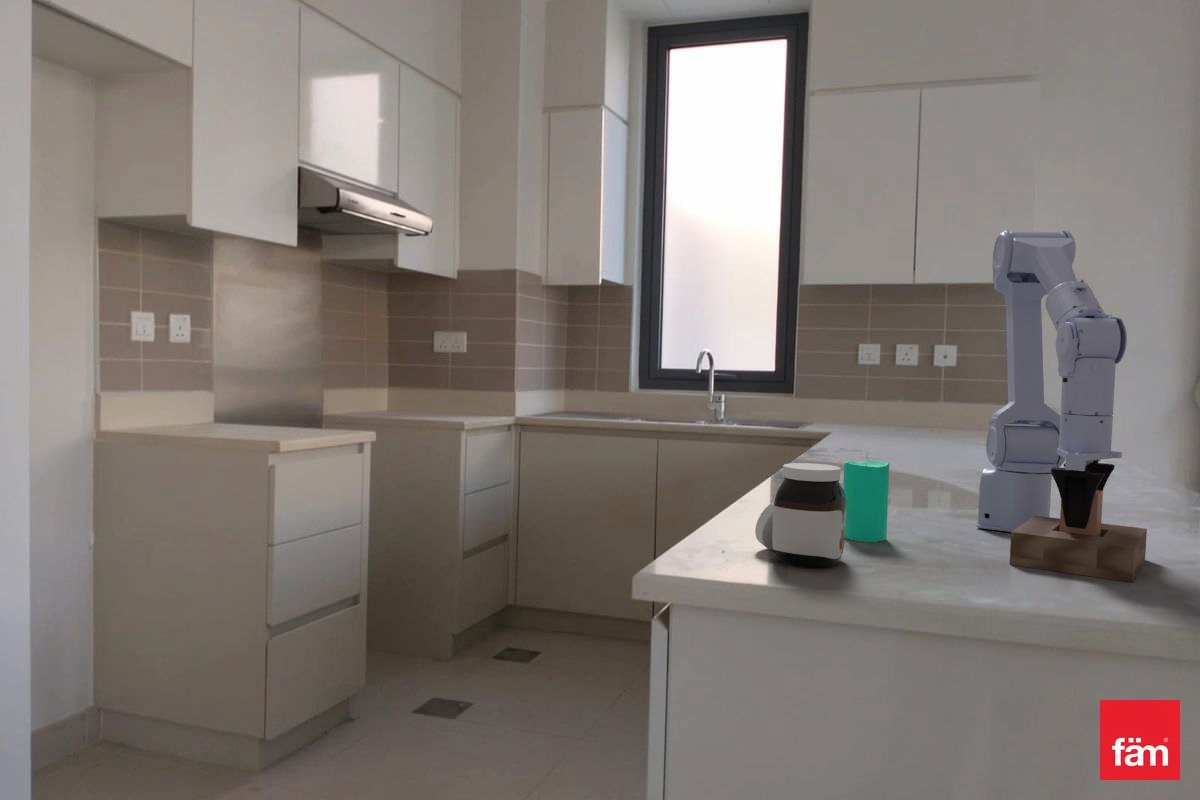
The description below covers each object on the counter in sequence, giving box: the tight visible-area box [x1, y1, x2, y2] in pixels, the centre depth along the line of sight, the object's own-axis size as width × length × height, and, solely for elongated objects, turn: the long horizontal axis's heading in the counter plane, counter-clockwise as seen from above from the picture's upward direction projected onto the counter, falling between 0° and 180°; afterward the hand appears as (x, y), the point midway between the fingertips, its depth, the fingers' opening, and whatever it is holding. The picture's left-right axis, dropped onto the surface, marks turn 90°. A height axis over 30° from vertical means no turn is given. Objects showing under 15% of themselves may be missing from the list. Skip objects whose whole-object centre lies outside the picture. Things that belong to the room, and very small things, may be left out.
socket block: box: [1009, 516, 1148, 583], centre depth 110 cm, size 13×15×4 cm
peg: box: [1059, 490, 1104, 537], centre depth 110 cm, size 4×4×8 cm
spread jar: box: [754, 462, 846, 569], centre depth 109 cm, size 12×11×12 cm
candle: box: [842, 451, 890, 543], centre depth 122 cm, size 6×6×12 cm
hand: (1080, 523), depth 110 cm, fingers open, 7 cm apart
